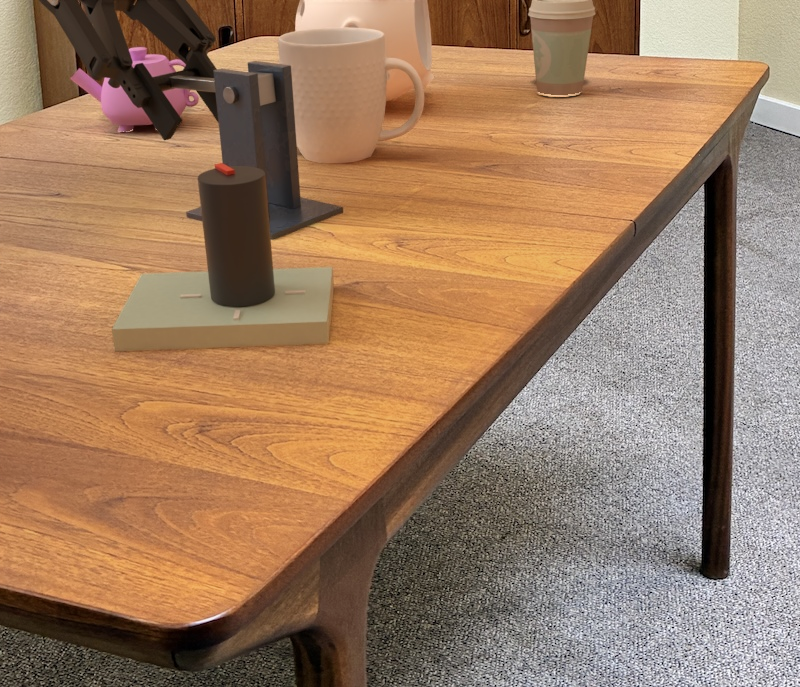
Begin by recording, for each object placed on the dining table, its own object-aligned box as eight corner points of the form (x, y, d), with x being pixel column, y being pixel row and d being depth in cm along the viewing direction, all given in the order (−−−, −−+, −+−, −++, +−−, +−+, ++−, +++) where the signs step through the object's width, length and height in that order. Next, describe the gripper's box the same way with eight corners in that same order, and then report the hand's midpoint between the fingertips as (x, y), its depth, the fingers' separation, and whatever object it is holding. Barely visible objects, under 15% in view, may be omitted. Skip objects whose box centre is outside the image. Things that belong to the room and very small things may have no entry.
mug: (423, 144, 123) (420, 23, 118) (427, 171, 113) (425, 41, 108) (289, 148, 123) (281, 28, 118) (282, 176, 113) (272, 46, 108)
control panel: (117, 370, 73) (110, 326, 72) (146, 311, 82) (141, 271, 81) (329, 362, 73) (326, 318, 72) (335, 304, 82) (332, 264, 81)
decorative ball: (320, 90, 151) (310, -62, 143) (444, 90, 149) (442, -65, 140) (283, 125, 133) (270, -46, 125) (424, 126, 131) (420, -49, 123)
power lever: (142, 99, 101) (138, 73, 100) (192, 87, 105) (188, 62, 104) (241, 111, 93) (238, 82, 92) (291, 97, 97) (288, 69, 96)
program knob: (285, 297, 76) (275, 172, 72) (226, 312, 73) (212, 184, 70) (258, 278, 79) (248, 157, 75) (201, 291, 77) (187, 168, 73)
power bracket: (187, 224, 100) (169, 70, 94) (258, 199, 107) (245, 53, 101) (273, 247, 94) (259, 84, 88) (343, 219, 100) (335, 65, 94)
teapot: (196, 133, 131) (187, 53, 127) (68, 138, 131) (56, 58, 127) (206, 113, 140) (198, 38, 137) (87, 118, 140) (75, 43, 136)
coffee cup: (532, 85, 150) (534, -7, 145) (596, 87, 147) (600, -7, 142) (521, 99, 142) (522, 3, 137) (588, 101, 140) (592, 3, 135)
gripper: (-14, -96, 94) (133, 118, 92) (160, -109, 108) (293, 78, 105) (-36, -34, 100) (102, 170, 97) (133, -53, 113) (258, 126, 110)
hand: (201, 122), depth 101 cm, fingers closed on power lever, 6 cm apart
